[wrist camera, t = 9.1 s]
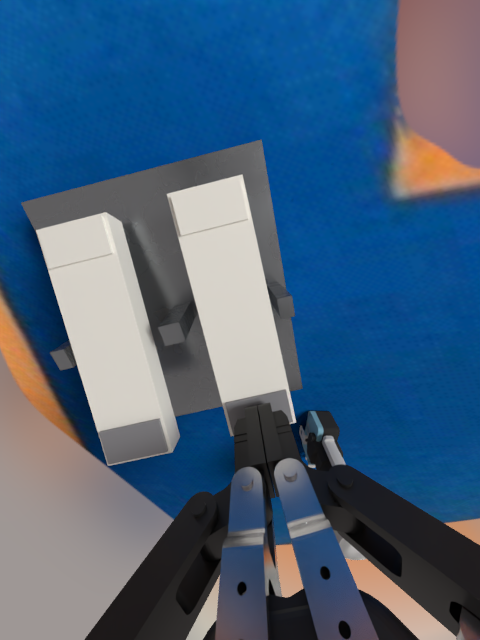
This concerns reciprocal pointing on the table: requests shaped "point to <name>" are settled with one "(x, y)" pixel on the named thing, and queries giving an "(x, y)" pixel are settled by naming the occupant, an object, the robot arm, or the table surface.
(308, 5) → the table surface
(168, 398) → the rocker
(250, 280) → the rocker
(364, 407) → the table surface
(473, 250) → the table surface
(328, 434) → the push button
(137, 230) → the switch unit
